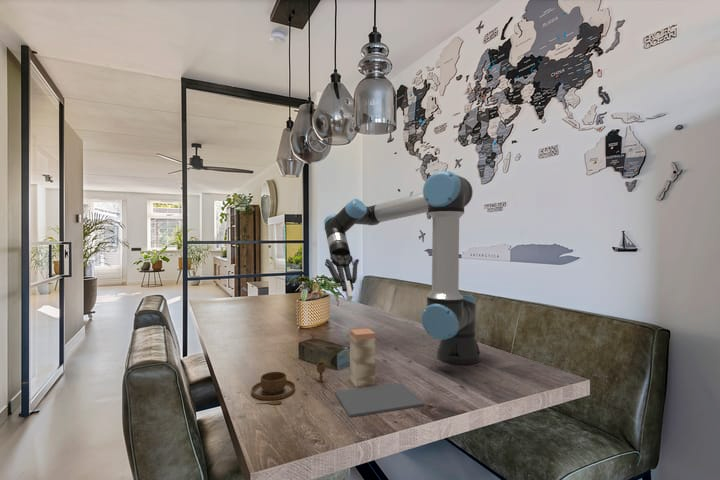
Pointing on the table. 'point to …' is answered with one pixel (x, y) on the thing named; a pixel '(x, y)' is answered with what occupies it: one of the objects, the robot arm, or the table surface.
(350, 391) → the rubber mat
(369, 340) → the birch block
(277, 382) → the place setting
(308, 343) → the beverage carton
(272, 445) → the table surface
